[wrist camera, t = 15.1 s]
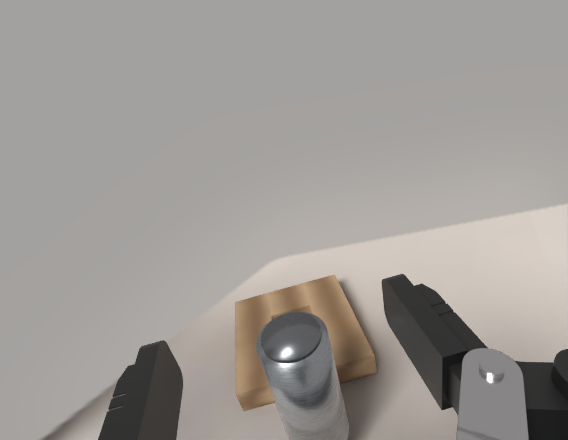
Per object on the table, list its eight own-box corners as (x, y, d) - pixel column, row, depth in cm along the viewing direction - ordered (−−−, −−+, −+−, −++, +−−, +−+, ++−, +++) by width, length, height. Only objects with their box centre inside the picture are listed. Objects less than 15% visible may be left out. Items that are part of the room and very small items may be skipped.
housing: (243, 411, 38) (236, 394, 37) (240, 316, 52) (235, 302, 51) (377, 372, 38) (374, 354, 37) (337, 289, 53) (334, 274, 51)
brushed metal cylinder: (301, 488, 30) (257, 375, 23) (290, 425, 35) (252, 318, 28) (362, 469, 30) (336, 352, 23) (343, 410, 35) (317, 300, 29)
